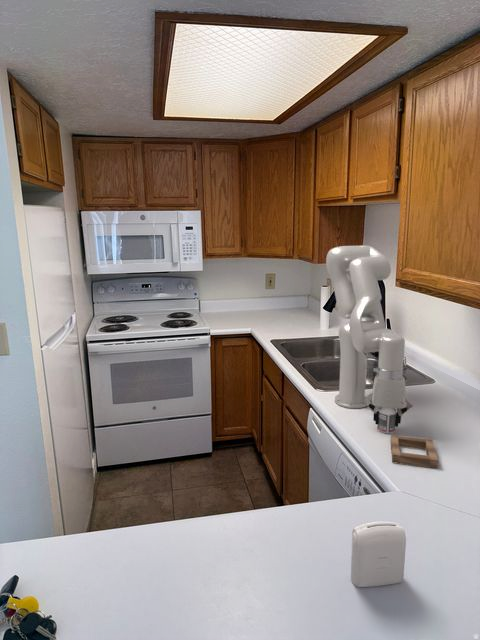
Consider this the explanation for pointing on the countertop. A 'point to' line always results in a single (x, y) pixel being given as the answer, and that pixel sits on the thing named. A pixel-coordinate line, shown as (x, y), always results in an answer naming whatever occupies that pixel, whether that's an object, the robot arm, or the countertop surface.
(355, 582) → the photo printer
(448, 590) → the countertop surface
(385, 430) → the pill bottle
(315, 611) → the countertop surface
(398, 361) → the robot arm
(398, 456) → the walnut dock
